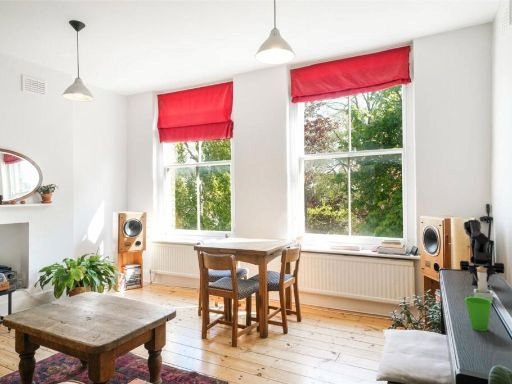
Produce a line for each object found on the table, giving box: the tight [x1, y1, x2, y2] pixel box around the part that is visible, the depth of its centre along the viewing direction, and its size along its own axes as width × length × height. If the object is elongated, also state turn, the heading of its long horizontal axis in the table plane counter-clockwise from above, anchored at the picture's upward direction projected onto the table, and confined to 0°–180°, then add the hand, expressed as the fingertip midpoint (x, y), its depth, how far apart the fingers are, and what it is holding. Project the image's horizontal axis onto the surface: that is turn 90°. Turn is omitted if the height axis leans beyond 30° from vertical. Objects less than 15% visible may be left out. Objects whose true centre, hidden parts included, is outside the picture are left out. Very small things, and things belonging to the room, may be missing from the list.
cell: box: [477, 266, 489, 293], centre depth 165 cm, size 4×4×14 cm
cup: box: [464, 296, 493, 332], centre depth 129 cm, size 9×9×11 cm
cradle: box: [473, 288, 494, 302], centre depth 165 cm, size 8×8×3 cm
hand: (482, 281), depth 164 cm, fingers closed on cell, 4 cm apart
